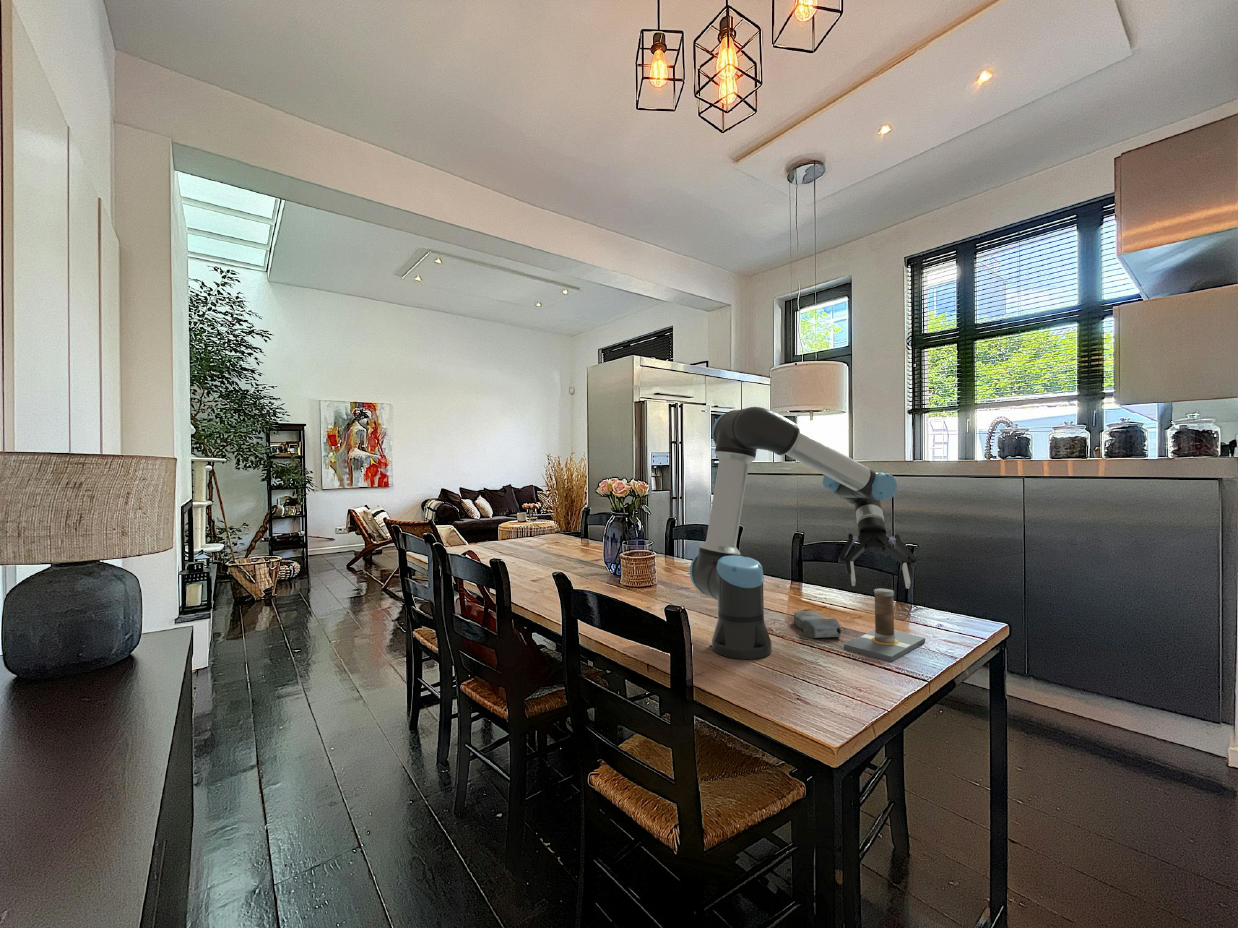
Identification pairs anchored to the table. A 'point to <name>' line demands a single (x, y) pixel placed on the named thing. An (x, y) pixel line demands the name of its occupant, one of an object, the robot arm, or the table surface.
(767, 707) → the table surface
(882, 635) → the tall brown post
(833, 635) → the handheld device
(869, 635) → the board
